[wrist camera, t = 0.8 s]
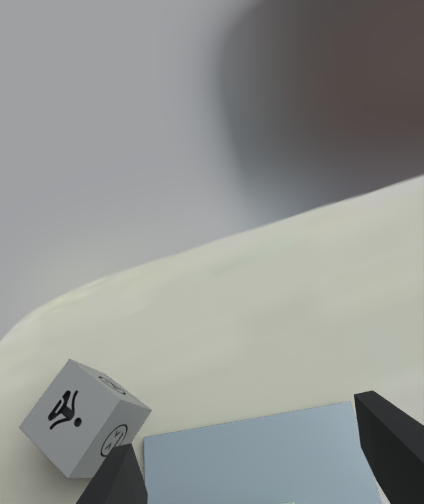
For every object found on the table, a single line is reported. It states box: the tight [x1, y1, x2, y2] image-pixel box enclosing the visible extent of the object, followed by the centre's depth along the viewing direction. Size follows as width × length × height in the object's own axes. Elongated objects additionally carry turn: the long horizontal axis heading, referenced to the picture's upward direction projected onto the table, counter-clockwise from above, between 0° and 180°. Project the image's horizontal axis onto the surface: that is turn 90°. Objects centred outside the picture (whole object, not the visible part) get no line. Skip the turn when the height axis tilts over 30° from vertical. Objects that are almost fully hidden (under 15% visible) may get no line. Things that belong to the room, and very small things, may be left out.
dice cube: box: [19, 359, 151, 479], centre depth 25 cm, size 5×5×5 cm
